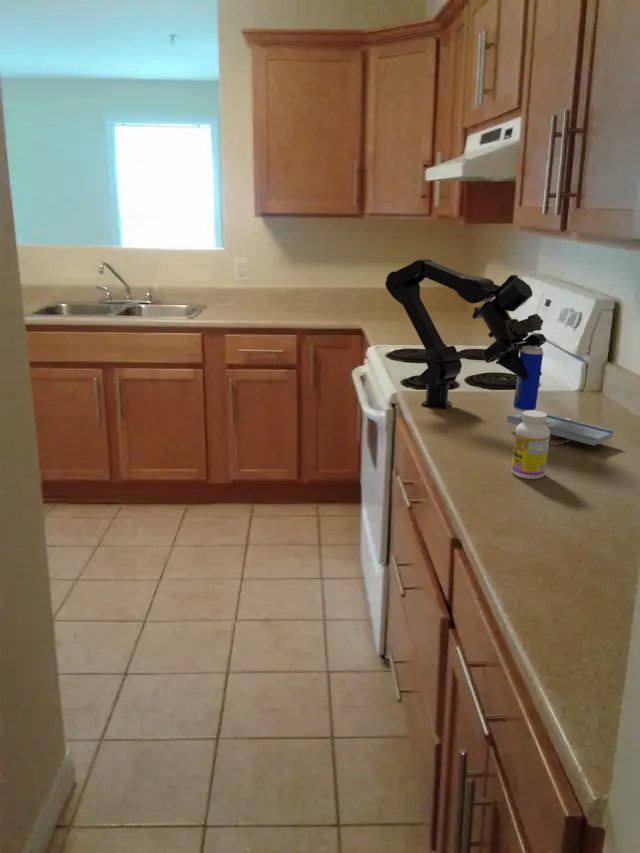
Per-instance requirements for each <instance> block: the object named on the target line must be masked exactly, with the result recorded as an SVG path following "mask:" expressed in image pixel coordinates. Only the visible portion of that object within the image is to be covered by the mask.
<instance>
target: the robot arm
mask: <svg viewBox="0 0 640 853" xmlns="http://www.w3.org/2000/svg"><path fill="white" fill-rule="evenodd" d="M425 279H429V280H431V281H432V282H435V283H437V284H440V285H441V286H444V287H447V288H449V289H452V290H453V291H455V292H456V293H457V295H458V297H460V298H461V299H463V300H464V301H466V302H468V304H479V303H483V304H482V305H481V306H477V307H474V308H473V314H472V319H473V320H476V319H482V320H483V322H484V323H485V325H486V327H487V328H488V329H489V333H488V334H487V335H488V337H489V338H490V339H491V338H494V339H495V341H494V342H492V343H491V344H490V345H489V346H488V347H487V348H485V349H484V350H483V351H482V358H483V360H484V361H485V363H486V364H490V363H494V362H495V364H496V365H500V366H501V367H503V368H504V369H507V370H508V371H510V372H512V373H513V374H515V375H516V376H517V375H518V376H519V377H521V378H522V379H524V380H527V379H528V378H529V377H528V374H527V372H526V370H525V368H524V366H523V364H522V362H521V360H520V351H521V349H522V347H523V346H536V347H540V348H541V346H543V345H544V344H545V343H547V340H548V339H547V338H546V336H545V335H544V333H538V332H539V331H542V330H543V329H542V327H543V323H544V320H543V319H542V318H541V316H540V315H539V314H538V313H534V314H531V315H528V316H527V318H524V319H521V320H518V318H512V317H511V316H510V314H509V313H508V311H509V312H515V311H516V310H518V309H519V308H520V307H521V306H522V305H523V304H524V303H525V302H526V301H528V300H529V299H531V297H533V290H532V288H531V286H530V285H529V284H528V283H527V282H526V281H525V280H523V279H521V278H520V277H518V275H517V274H510V275H509V277H508V278H507V279H506V280H505V281H504V282H503V283H502V284H501V285H499V284H495V282H494V281H493V280H492V279H490V278H488V277H483V276H476V275H475V276H473V275H468V274H467V275H466V274H464V273H462V272H458V271H457V270H454V269H451V268H449V267H446V266H445V265H442V264H439V263H437V262H435V261H433V260H431V259H429V258H421V259H420V258H419V259H417V260H415V261H413V262H412V263H410V264H408V265H407V266H404V267H402V268H399V269H397V270H396V271H390V272H389V273H388V275H387V277H386V279H385V280H386V281H385V282H384V284H385V287H386V290H387V291H388V293H389V294H390V296H391V297H392V298H393V299H394V300H396V301H397V302H398V303H399V304H401V305H402V307H403V308H404V311H405V312H406V314H407V316H408V318H409V320H410V323H411V324H412V326H413V328H414V330H415V332H416V333H417V336H418V338H419V340H420V342H421V343H422V346H423V347H424V349H425V352H426V354H425V355H426V357H425V358H426V359H425V363H426V366H427V368H426V369H425V370H424V371H422V372H421V374H419V379H420V382H421V384H425V385H426V392H425V393H426V394H425V400H423V402H421V406H423V407H429V408H436V409H446V408H448V407H449V406H450V405H452V402H451V401H450V400H448V397H449V386H450V383H452V382H454V383H455V382H456V380H457V377H458V375H460V373H461V370H462V367H463V365H462V361H461V360H462V357H461V356H460V355H459V353H458V351H457V348H456V347H455V345H450V346H448V345H447V344H445V343H444V342H443V339H442V338H441V335H440V333H439V332H438V329H437V327H436V326H435V324H434V322H433V320H432V318H431V316H430V315H429V313H428V310H427V308H426V307H425V305H424V302H423V301H422V299H421V285H420V284H421V283H422V282H423V281H425ZM536 331H537V333H533V334H530V335H529V333H532V332H536ZM496 357H498V359H497V361H496ZM542 375H543V374H542V372H541V373H540V377H541V376H542Z"/></svg>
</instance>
